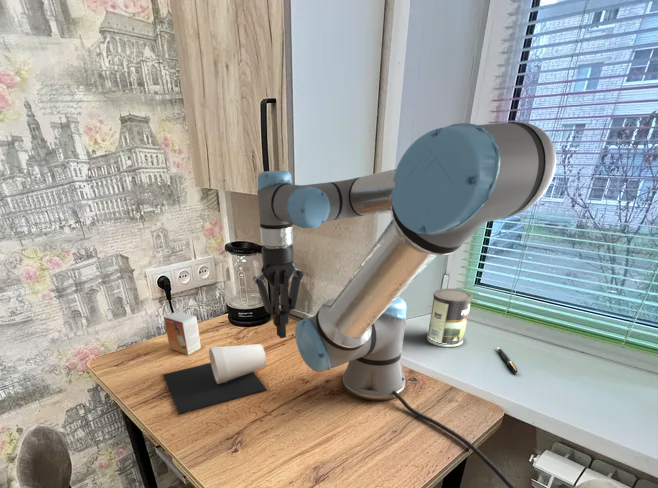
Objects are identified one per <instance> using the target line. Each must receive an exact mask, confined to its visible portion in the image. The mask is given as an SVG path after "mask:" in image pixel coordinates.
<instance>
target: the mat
mask: <svg viewBox="0 0 658 488" xmlns="http://www.w3.org/2000/svg"><path fill="white" fill-rule="evenodd" d="M163 378H164V380H165V383H166V385H167V387H168V391H169V393H170V395H171V399H172V400H173V402H174V405H175V407H176V410H177V412H178V415H182V414H186V413H191V412H194V411H197V410H201V409H205V408H208V407H211V406H216V405H219V404H222V403H227V402H230V401H234V400H237V399H241V398H244V397H248V396H252V395H255V394H258V393H262V392H266V391H268V390H267V387H265V385H264V384H263V383H262V381H261V380H260V379H259V378H258V376H257V375H256V374H255V371H254V372H251V373H248V374H246V375H243V376H240V377H238V378H235V379H232V380H229V381H228V382H225V383H221V384H217V382H216V380H215V377H214V374H213V370H212V366H211V362H208V363H205V364H204V363H203V364H201V365H197V366H192V367H188V368H184V369H179V370H176V371H175V370H174V371H172V372H167V373H163Z"/></svg>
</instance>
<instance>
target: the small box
mask: <svg viewBox="0 0 658 488" xmlns="http://www.w3.org/2000/svg"><path fill="white" fill-rule="evenodd" d="M163 320H164V326H165V331H166V335H167V336H166V337H167V340H168V346H169V350H172V351H176V352H178V353H182V354H185V355H186V356H190V355H191V354H193V353H195V352H196V351H198V350H200V349H201V348H202V346H201V344H202V343H201V339H200V338H201V337H200V332H199V325H198V319H197V316H196V315H193V314H190V313H189V314H188V313H185V312H182V311H179V310H177V311H173V312H172V313H170V314H167V315H165V316H163Z"/></svg>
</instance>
